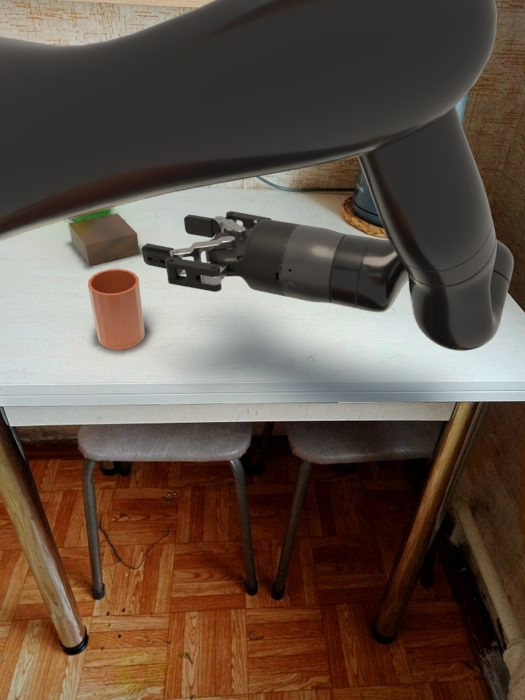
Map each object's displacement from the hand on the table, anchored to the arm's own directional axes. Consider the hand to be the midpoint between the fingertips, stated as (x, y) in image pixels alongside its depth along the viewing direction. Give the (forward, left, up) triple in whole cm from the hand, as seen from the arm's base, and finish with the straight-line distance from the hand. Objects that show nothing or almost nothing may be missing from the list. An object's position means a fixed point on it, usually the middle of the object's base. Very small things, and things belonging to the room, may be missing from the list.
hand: (166, 237), depth 58 cm
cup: (-4, +8, -18) cm, 20 cm away
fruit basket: (+4, +45, -18) cm, 48 cm away
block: (+3, +33, -18) cm, 37 cm away
